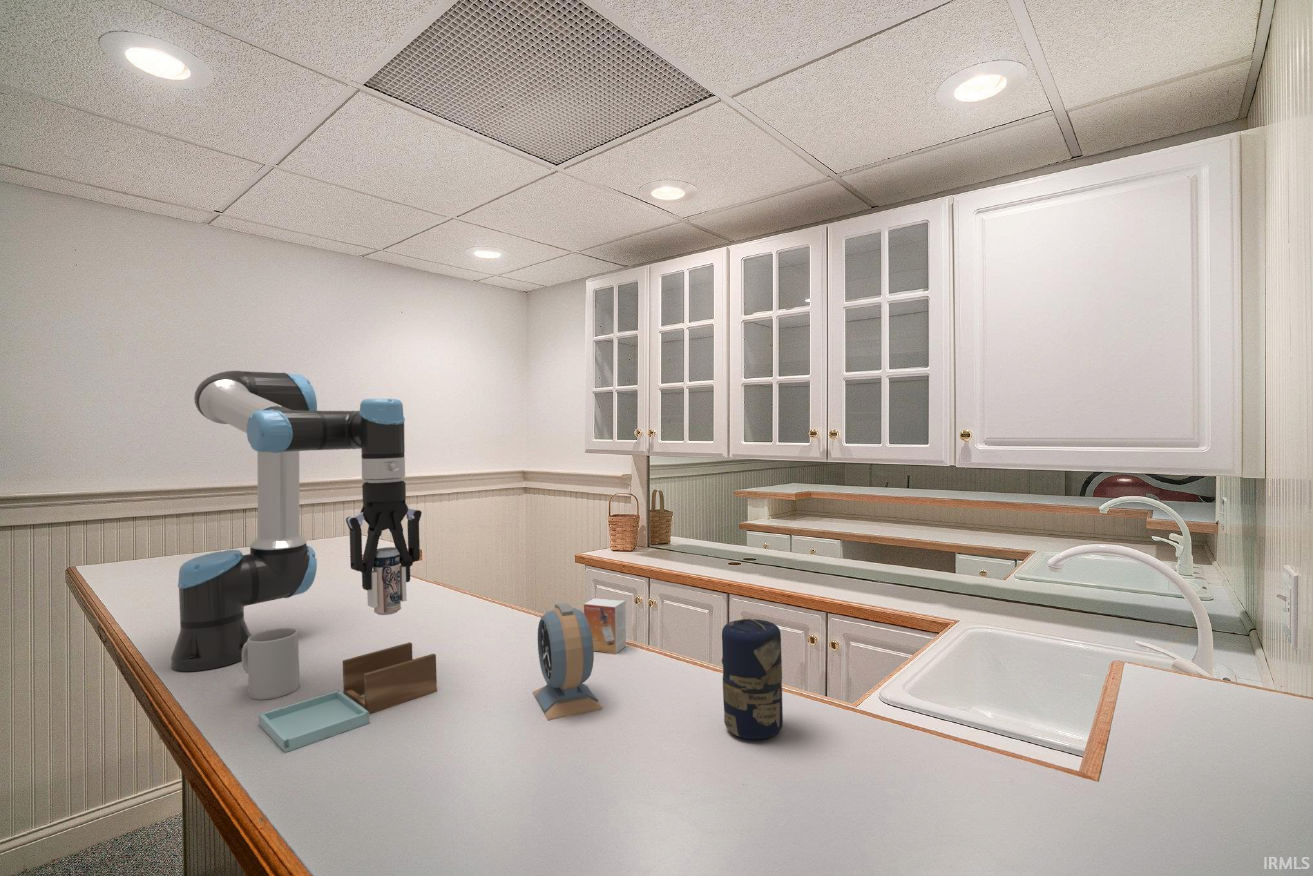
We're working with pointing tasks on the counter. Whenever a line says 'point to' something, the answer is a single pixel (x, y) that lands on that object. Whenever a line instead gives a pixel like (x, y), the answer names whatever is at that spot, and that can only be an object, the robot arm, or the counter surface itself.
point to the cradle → (388, 677)
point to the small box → (607, 624)
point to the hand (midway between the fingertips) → (387, 602)
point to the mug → (272, 663)
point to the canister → (752, 678)
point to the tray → (313, 720)
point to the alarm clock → (565, 663)
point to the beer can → (387, 580)
